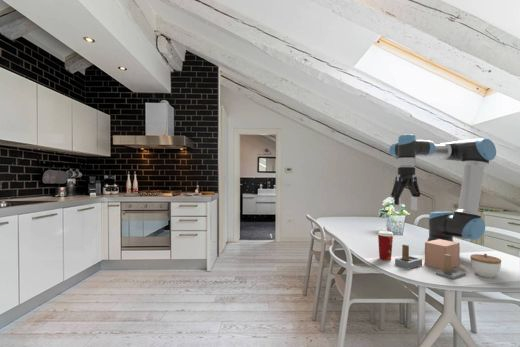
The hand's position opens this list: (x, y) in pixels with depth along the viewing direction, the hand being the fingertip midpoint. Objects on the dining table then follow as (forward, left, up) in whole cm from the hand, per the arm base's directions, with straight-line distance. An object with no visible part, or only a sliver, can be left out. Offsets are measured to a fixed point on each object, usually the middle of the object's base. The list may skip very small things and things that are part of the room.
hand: (405, 210), depth 136 cm
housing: (-18, +8, -27) cm, 33 cm away
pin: (0, 0, -27) cm, 27 cm away
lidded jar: (-20, +25, -27) cm, 42 cm away
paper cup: (-2, -12, -27) cm, 29 cm away
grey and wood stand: (-7, +17, -27) cm, 32 cm away
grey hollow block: (-3, 0, -27) cm, 27 cm away
